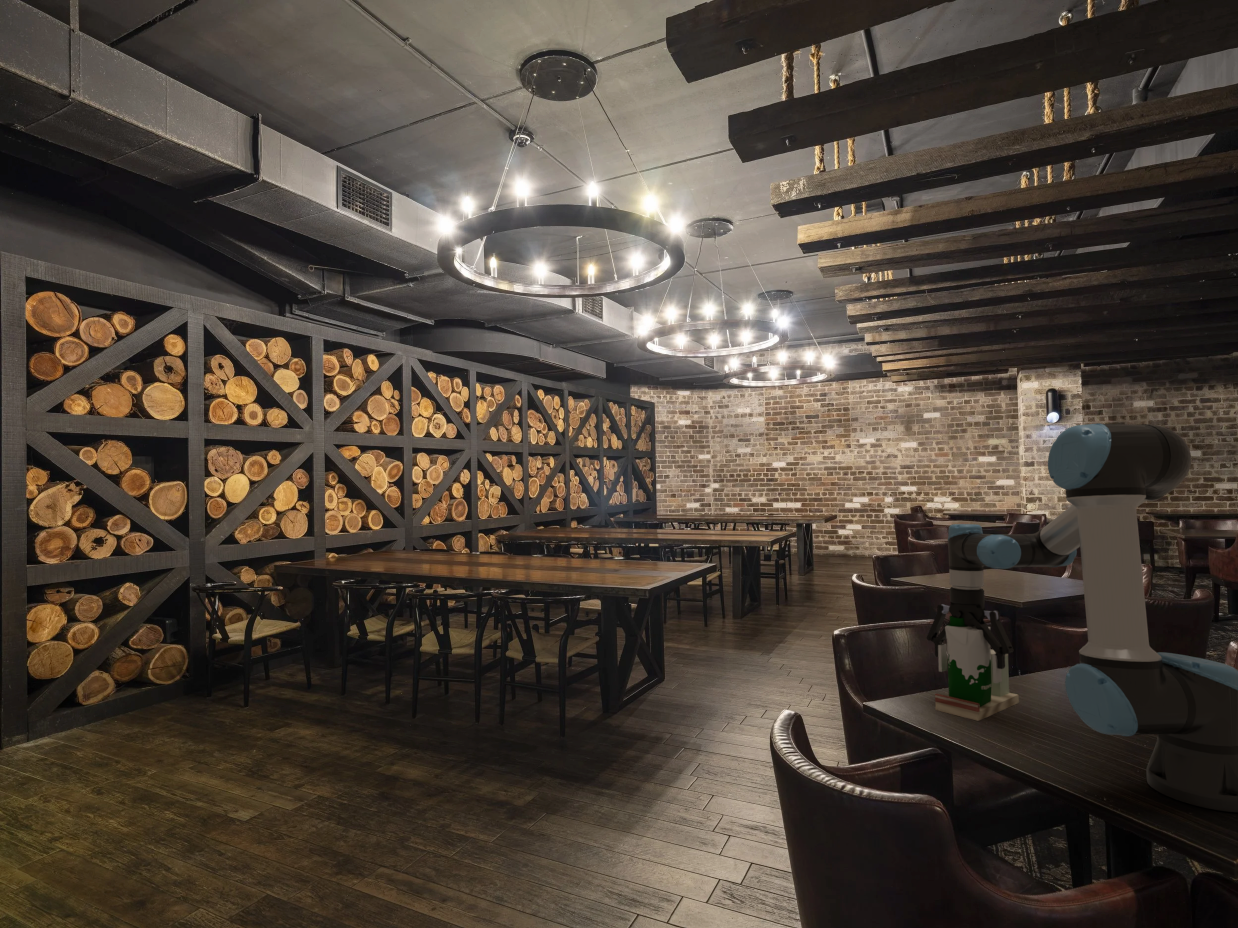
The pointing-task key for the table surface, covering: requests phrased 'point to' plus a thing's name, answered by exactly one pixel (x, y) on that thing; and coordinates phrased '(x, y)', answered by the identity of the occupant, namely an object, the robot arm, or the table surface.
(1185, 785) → the robot arm
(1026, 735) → the table surface
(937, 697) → the shelf board
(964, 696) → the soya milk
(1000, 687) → the tea tin
